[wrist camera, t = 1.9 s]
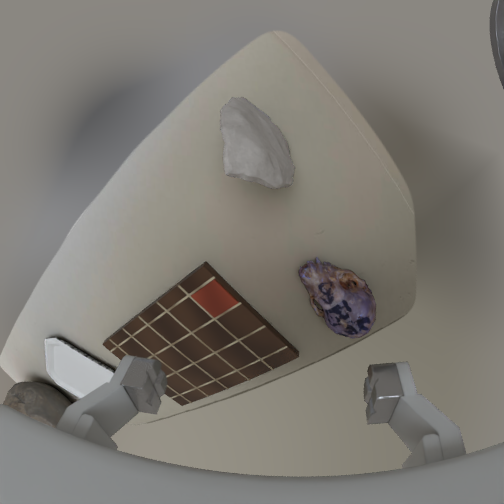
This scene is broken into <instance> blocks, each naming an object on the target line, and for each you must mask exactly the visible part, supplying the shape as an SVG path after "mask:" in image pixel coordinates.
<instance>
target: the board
mask: <svg viewBox="0 0 504 504" xmlns="http://www.w3.org/2000/svg"><path fill="white" fill-rule="evenodd" d="M103 345H104V346H105V347H106V348H107V349H108V350H109V351H110V352H112V353H113V354H114V355H115V356H117V357H118V358H119V359H120V360H122V358H123V357H124V356H126V355H130V356H137V357H143V358H149V359H156V360H160V363H161V365H162V367H161V370H162V371H164V372H165V374H166V376H167V388H166V391H165V394H166V395H167V396H169V397H170V398H171V399H173V400H174V401H176V402H177V403H179V404H180V405H182V406H183V405H186V404H189V403H192V402H194V401H197V400H199V399H202V398H205V397H209V396H210V395H213V394H215V393H218V392H220V391H223V390H225V389H228V388H230V387H233V386H235V385H238V384H240V383H242V382H245V381H247V380H248V381H249V380H250V379H252V378H254V377H256V376H259V375H261V374H263V373H266V372H268V371H270V370H274V368H277V367H279V366H281V365H283V364H285V363H287V362H290V361H292V360H294V359H296V358H298V357H299V351H298V350H297V349H296V348H294V347H293V346H292V345H291V344H290V343H289V342H288V341H287V340H286V339H285V338H284V337H283V336H282V335H281V334H280V333H279V332H278V331H276V330H275V329H274V328H273V327H272V326H271V325H270V324H269V323H268V322H267V321H266V320H265V319H264V318H263V317H262V316H261V315H260V314H259V313H258V312H257V311H256V310H255V309H254V308H252V307H251V306H250V305H249V304H248V303H247V302H246V301H245V300H244V299H243V298H242V297H241V296H240V295H239V294H238V293H237V292H236V291H235V290H234V289H233V288H232V287H231V286H230V285H229V284H228V283H227V282H226V281H225V280H224V279H223V278H222V277H221V276H220V275H219V274H218V273H217V272H216V271H215V270H214V269H213V268H212V267H211V266H210V265H209V264H208V263H207V262H204V263H203V264H202V265H201V266H199V267H198V268H197V269H195V270H194V271H193V272H191V273H190V274H189V275H187V276H186V277H185V278H184V279H182V280H181V281H180V282H178V283H177V284H176V285H175V286H173V287H172V288H171V289H169V290H168V291H167V292H166V293H164V294H163V295H162V296H160V297H159V298H158V299H157V300H155V301H154V302H153V303H151V304H150V305H149V306H148V307H146V308H145V309H144V310H142V311H141V312H140V313H139V314H137V315H136V316H135V317H134V318H132V319H131V320H130V321H129V322H127V323H126V324H125V325H123V326H122V327H121V328H120V329H118V330H117V331H116V332H115V333H113V334H112V335H111V336H110V337H108V338H107V339H106V340H105V341H104V343H103Z"/></svg>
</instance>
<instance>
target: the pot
mask: <svg viewBox="0 0 504 504" xmlns="http://www.w3.org/2000/svg"><path fill="white" fill-rule="evenodd" d="M3 404H4V405H7V406H9V407H11V408H13V409H15V410H16V411H18V412H20V413H22V414H25V415H27V416H29V417H31V418H33V419H35V420H37V421H39V422H42V423H44V424H46V425H49V426H51V427H53V428H56V426H57V424H58V422H59V421H60V419H61V417H62V415H63V414H64V412H65V410H66V408H67V407H68V406H70V405H71V404H72V403H71V402H70V401H69V400H68V399H67V398H66V397H65V396H64V395H63V394H62V393H60V392H59V391H57V390H56V389H55V388H53V387H51V386H49V385H47V384H44V383H39V382H20V383H17V384H15V385H14V386H13V387H12V388H11V389H10V390H9V391H8V393H7V396H6V399H5V401H4V403H3Z"/></svg>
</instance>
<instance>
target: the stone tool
mask: <svg viewBox="0 0 504 504" xmlns="http://www.w3.org/2000/svg"><path fill="white" fill-rule="evenodd" d="M220 113H221V115H220V116H221V119H220V130H221V132H222V135H223V140H224V142H225V145H224V151H223V162H224V171H225V174H226V175H227V176H230V177H237V178H241V179H243V180H246V181H249V182H256V183H259V184H262V185H264V186H266V187H268V188H271V189H272V188H276V189H277V188H281V187H289V186H291V185H292V183H293V178H292V177H293V175H294V169H295V166H294V165H293V162H292V160H291V158H290V150H289V146H288V143H287V141H286V140H285V138H284V136H283V134H282V132H281V131H280V129H279V128H278V127H277V126H276V125H275V124H274V123H273V122H272V121H271V119H270V117H269V116H268V115H266V114H265V113H264V112H263V111H261V110H260V109H258V108H257V107H256V106H254V105H253V104H252V103H251V102H249V101H248V100H247V99H246V98H244V97H241V98H239V97H238V98H234V97H232V98H231V99H230V100H229V102H228V103H227V104H225V105H224V106H223V108H222V109H221V111H220Z"/></svg>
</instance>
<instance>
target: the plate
mask: <svg viewBox="0 0 504 504" xmlns="http://www.w3.org/2000/svg"><path fill="white" fill-rule="evenodd" d="M44 342H45V358H46V370H47V373H48V374H49V376H50V377H51V378H52V379H53V380H54V381H55V383H56V384H58V385H59V386H61V387H62V388H64V389H65V390H67V391H69V392H70V393H72V394H73V395H75V396H77V397H78V398H80V399H81V398H82V397H84V396H86V395H87V394H89V393H90V392H92V391H93V390H95V389H97V388H98V387H100V386H101V385H103V384H104V383H106V382H108V383H109V382H110V380H111V378H112V376H113V375H114V373H115V371H114V370H113V369H111V368H110V367H108V366H106V365H104V364H102V363H101V362H99V361H97V360H95V359H94V358H92V357H90V356H89V355H87V354H85V353H84V352H82V351H80V350H79V349H77V348H75V347H74V346H72V345H71V344H69V343H67V342H65V341H63V340H61V339H59V338H57V337H51V338H45V340H44Z"/></svg>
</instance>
